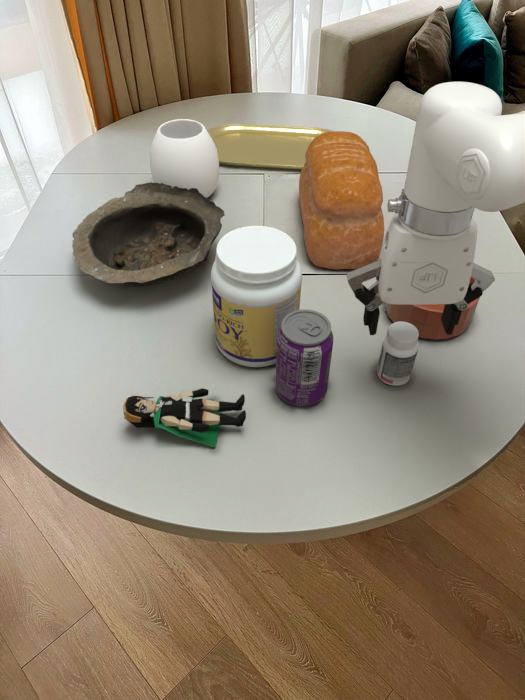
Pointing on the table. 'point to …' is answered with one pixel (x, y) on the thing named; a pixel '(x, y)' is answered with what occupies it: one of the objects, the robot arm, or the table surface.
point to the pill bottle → (398, 353)
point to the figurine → (184, 415)
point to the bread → (341, 202)
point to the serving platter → (263, 145)
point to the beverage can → (303, 357)
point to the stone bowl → (147, 235)
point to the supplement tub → (253, 292)
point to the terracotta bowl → (430, 318)
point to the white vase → (185, 156)
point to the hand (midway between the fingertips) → (408, 327)
